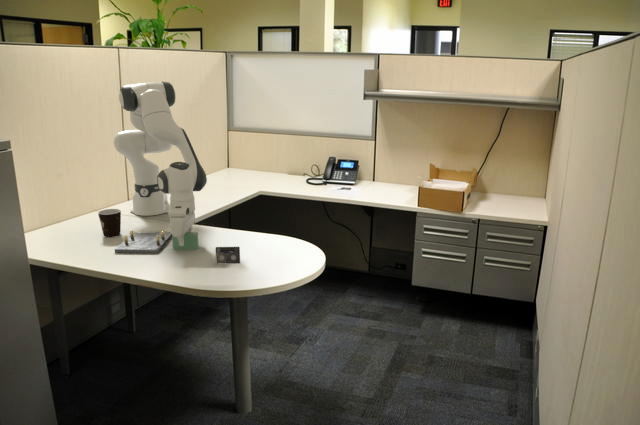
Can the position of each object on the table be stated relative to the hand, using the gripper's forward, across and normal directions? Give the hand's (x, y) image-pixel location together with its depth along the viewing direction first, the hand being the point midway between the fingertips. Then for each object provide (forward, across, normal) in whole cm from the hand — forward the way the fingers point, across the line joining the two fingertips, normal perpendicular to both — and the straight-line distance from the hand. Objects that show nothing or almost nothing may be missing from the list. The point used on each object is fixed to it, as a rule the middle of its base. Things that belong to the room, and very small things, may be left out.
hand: (185, 241), depth 202 cm
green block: (+3, 0, 0) cm, 3 cm away
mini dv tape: (+3, +15, +19) cm, 24 cm away
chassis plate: (+3, -4, -17) cm, 18 cm away
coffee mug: (+3, -14, -34) cm, 37 cm away
